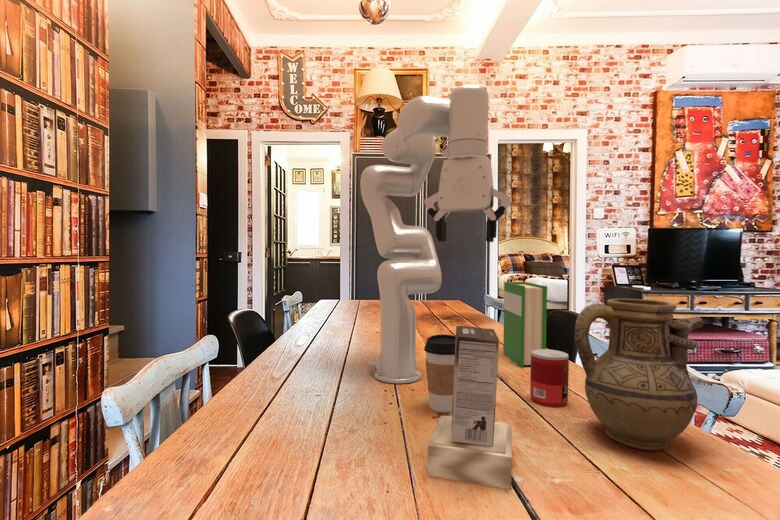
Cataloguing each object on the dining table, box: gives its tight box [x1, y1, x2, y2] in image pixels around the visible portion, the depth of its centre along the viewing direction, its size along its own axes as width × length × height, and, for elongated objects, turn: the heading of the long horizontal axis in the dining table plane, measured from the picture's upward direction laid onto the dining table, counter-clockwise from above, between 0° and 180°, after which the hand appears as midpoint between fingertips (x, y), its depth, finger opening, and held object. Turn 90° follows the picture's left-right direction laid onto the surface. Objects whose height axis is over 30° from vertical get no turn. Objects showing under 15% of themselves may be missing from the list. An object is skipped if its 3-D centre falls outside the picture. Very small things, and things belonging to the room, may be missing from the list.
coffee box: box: [451, 325, 500, 447], centre depth 65 cm, size 9×6×16 cm
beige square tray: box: [427, 415, 513, 490], centre depth 65 cm, size 12×12×5 cm
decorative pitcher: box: [574, 298, 705, 451], centre depth 74 cm, size 22×18×25 cm
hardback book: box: [502, 281, 548, 369], centre depth 129 cm, size 18×7×24 cm, turn 1°
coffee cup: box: [423, 334, 456, 413], centre depth 89 cm, size 8×8×15 cm
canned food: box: [529, 348, 570, 408], centre depth 93 cm, size 8×8×11 cm
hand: (465, 241), depth 81 cm, fingers open, 9 cm apart
